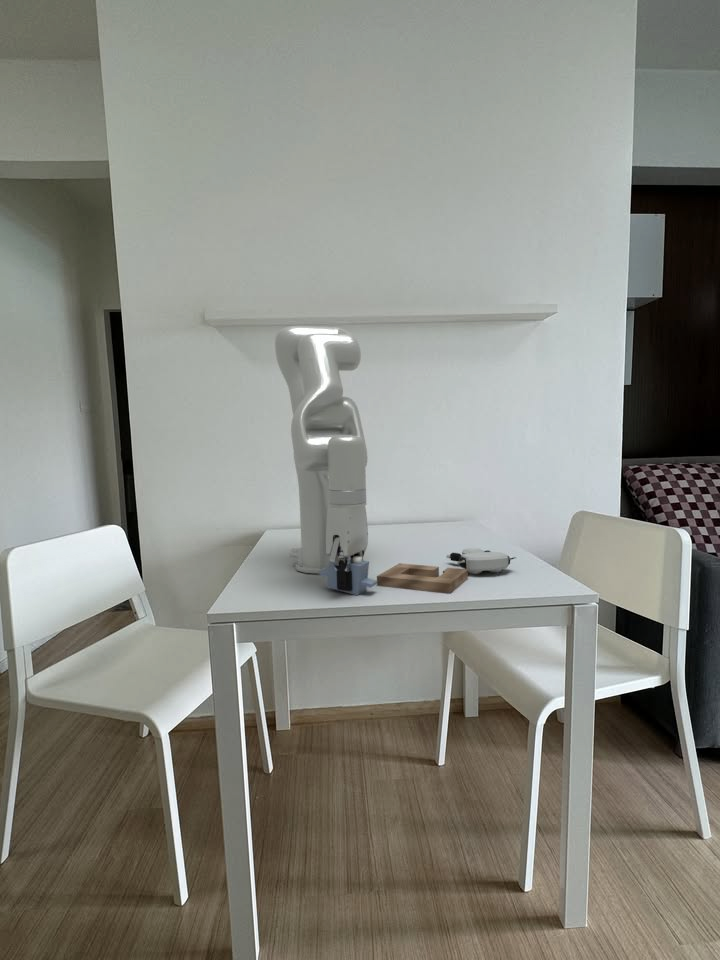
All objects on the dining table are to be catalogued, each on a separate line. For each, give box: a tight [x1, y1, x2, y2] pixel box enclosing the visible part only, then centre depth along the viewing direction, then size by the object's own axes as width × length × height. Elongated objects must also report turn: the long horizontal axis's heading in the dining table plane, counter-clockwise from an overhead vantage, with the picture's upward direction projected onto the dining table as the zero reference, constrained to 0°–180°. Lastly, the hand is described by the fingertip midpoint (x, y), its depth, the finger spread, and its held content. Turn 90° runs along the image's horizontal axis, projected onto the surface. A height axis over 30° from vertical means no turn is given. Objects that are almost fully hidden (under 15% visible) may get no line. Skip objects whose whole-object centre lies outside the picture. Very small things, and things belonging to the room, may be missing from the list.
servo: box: [318, 556, 378, 596], centre depth 112 cm, size 12×4×7 cm, turn 63°
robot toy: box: [445, 547, 517, 575], centre depth 127 cm, size 12×4×15 cm
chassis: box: [376, 563, 469, 594], centre depth 117 cm, size 16×12×2 cm
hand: (350, 586), depth 112 cm, fingers closed on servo, 3 cm apart
